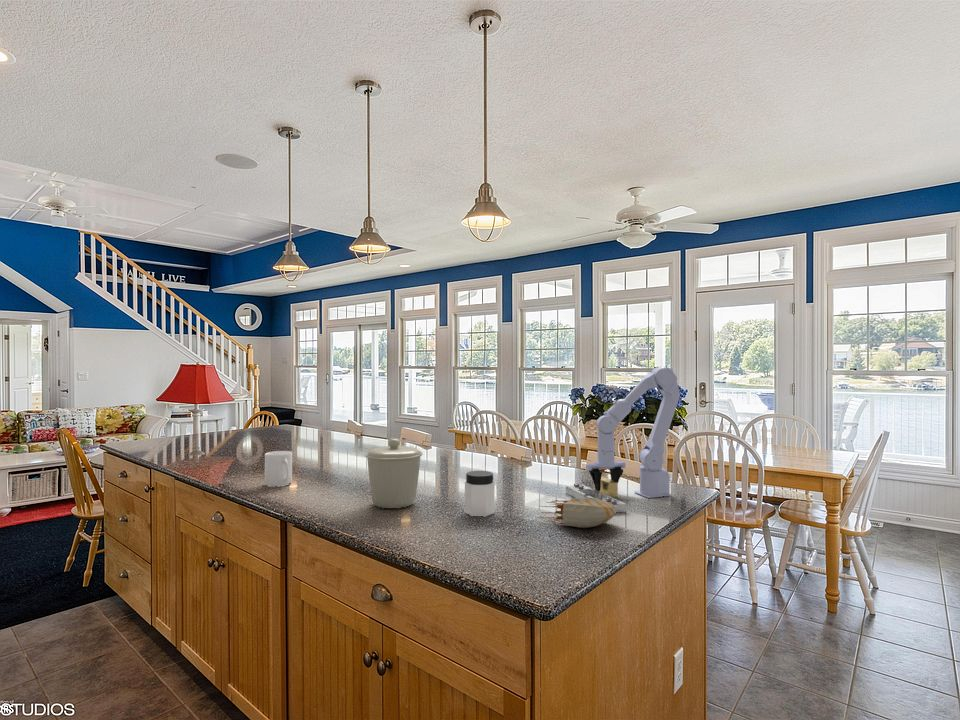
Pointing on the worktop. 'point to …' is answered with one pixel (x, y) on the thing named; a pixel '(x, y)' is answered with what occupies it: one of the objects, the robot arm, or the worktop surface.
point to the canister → (393, 474)
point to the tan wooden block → (609, 487)
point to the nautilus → (582, 512)
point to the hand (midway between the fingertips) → (605, 489)
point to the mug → (278, 468)
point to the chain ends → (594, 496)
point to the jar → (479, 493)
